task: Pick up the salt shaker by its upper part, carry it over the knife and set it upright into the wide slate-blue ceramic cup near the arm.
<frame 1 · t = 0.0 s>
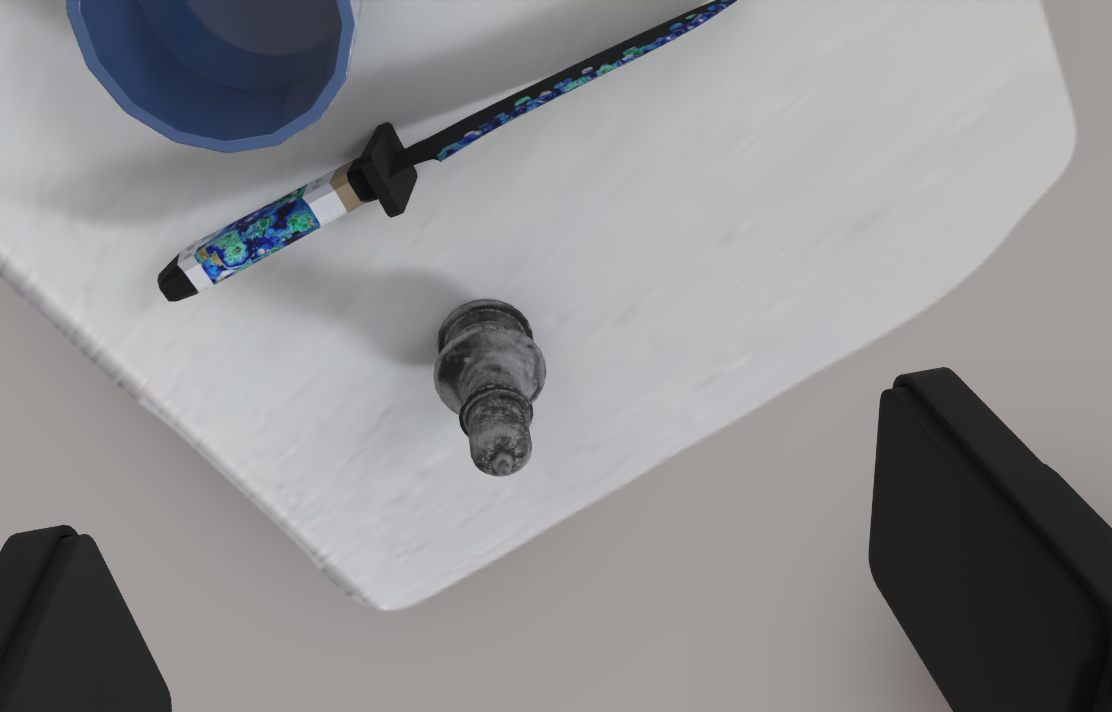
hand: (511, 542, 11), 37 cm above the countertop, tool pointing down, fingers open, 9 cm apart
salt shaker: (485, 340, 52), on the countertop
knife: (455, 124, 46), on the countertop
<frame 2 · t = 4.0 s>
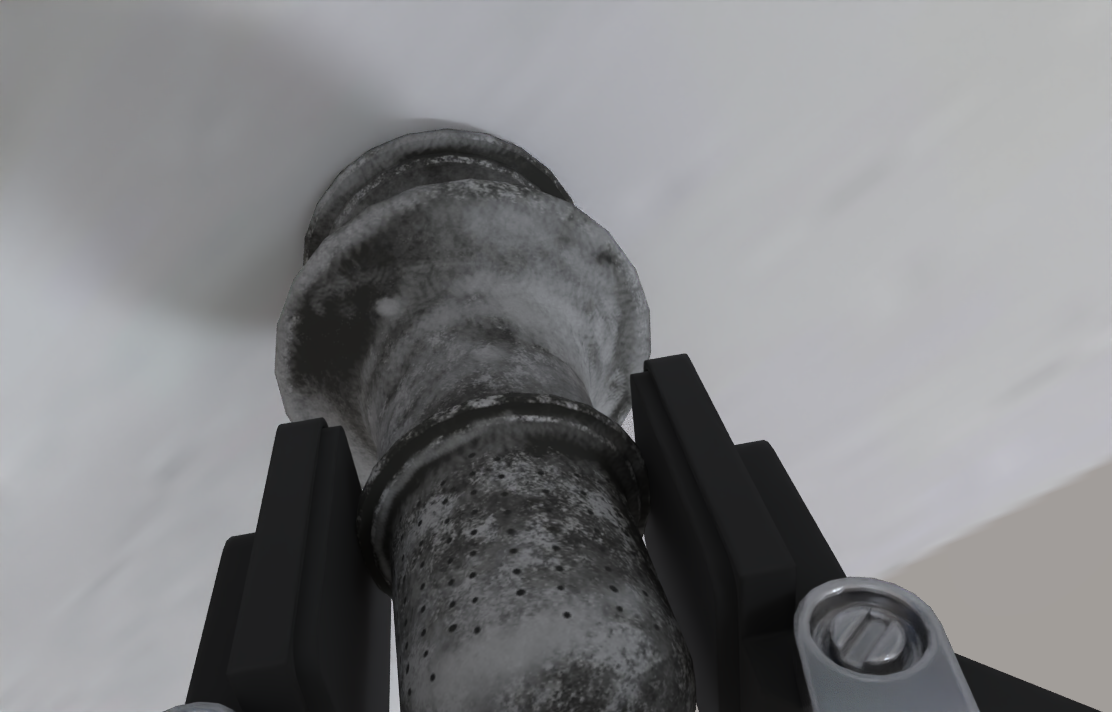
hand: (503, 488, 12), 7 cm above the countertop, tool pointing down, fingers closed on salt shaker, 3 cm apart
salt shaker: (446, 263, 18), on the countertop, touching gripper
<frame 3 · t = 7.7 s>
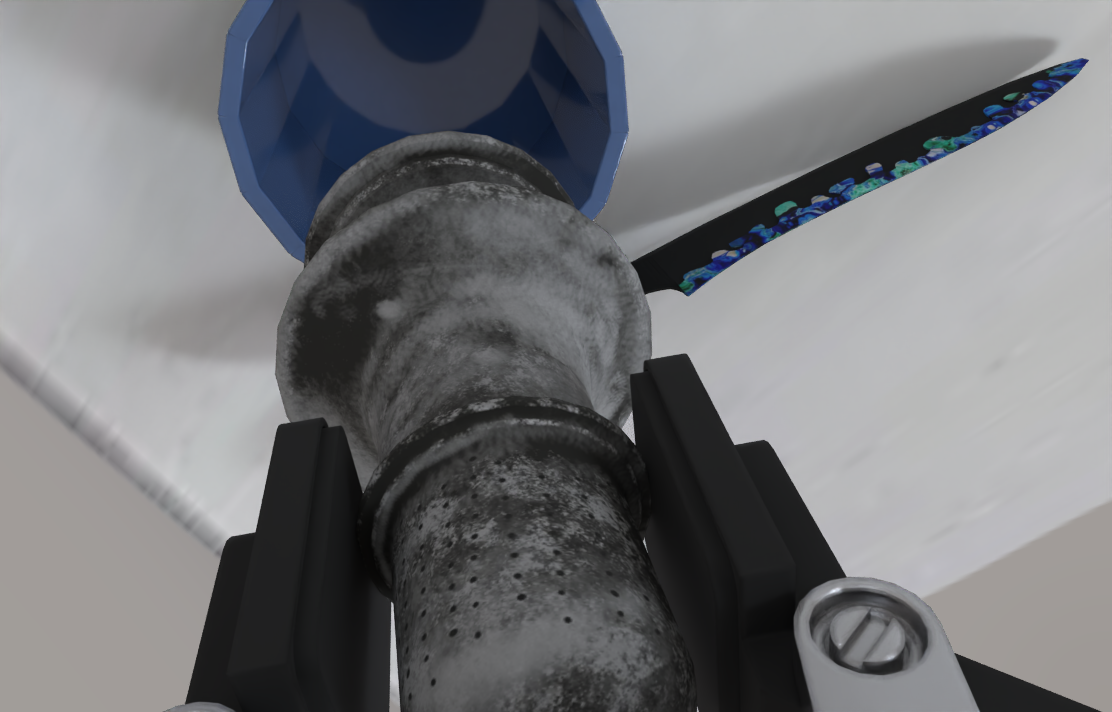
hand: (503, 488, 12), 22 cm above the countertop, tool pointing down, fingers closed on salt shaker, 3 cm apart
blue cup: (424, 55, 30), on the countertop
salt shaker: (447, 264, 18), point 15 cm above the countertop, touching gripper
knife: (678, 232, 35), on the countertop
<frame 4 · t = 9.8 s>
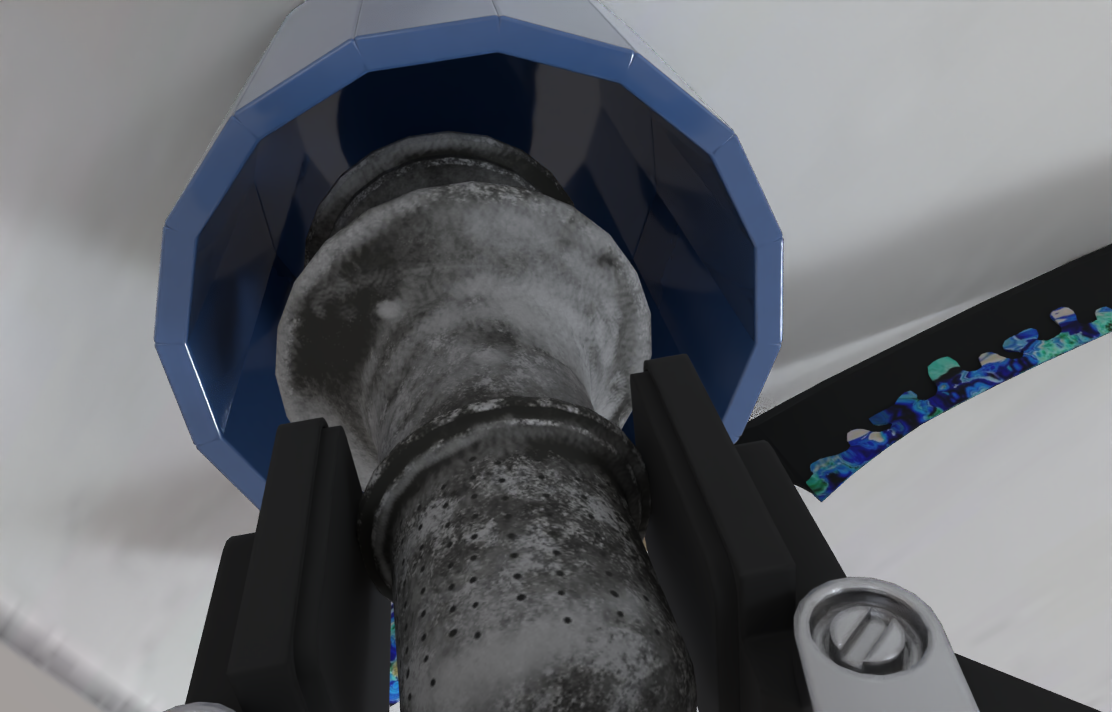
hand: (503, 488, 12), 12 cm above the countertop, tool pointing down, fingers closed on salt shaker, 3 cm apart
blue cup: (460, 176, 22), on the countertop
salt shaker: (447, 264, 18), point 5 cm above the countertop, touching gripper
knife: (787, 383, 27), on the countertop
when the fingers open (8 cm above the countertop, at t = 11.9 s): salt shaker stays where it is, resting on blue cup.
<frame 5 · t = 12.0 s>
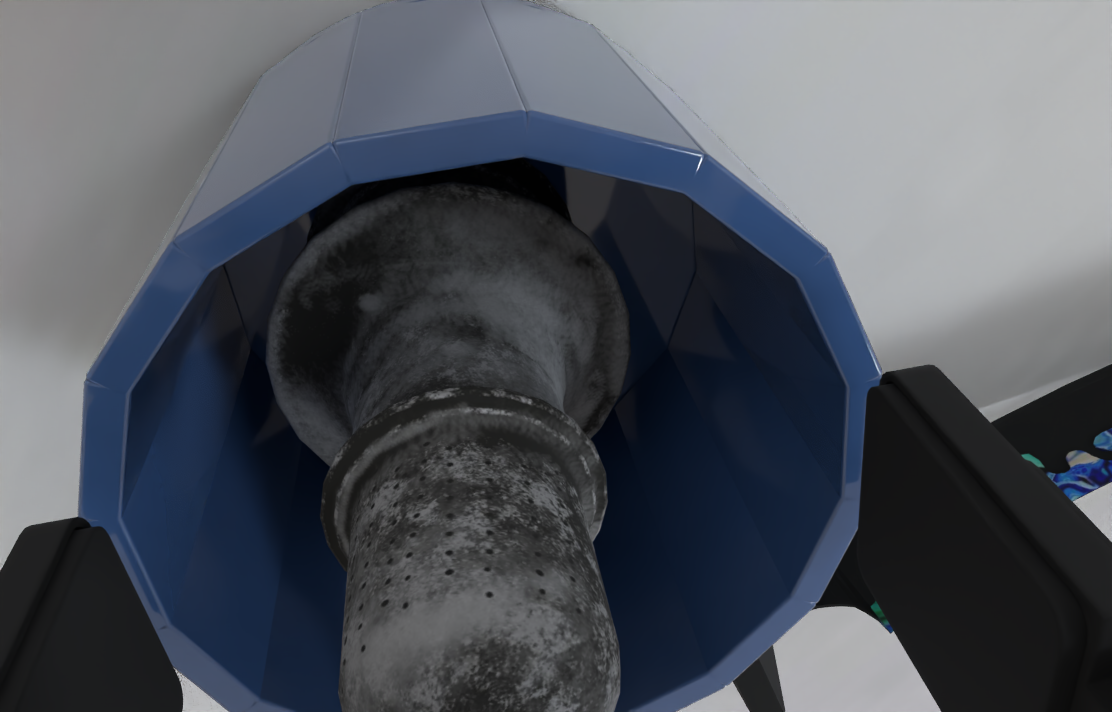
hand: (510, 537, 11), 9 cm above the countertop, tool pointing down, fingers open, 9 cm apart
blue cup: (467, 255, 19), on the countertop
salt shaker: (445, 263, 18), resting on blue cup
knife: (839, 476, 23), on the countertop
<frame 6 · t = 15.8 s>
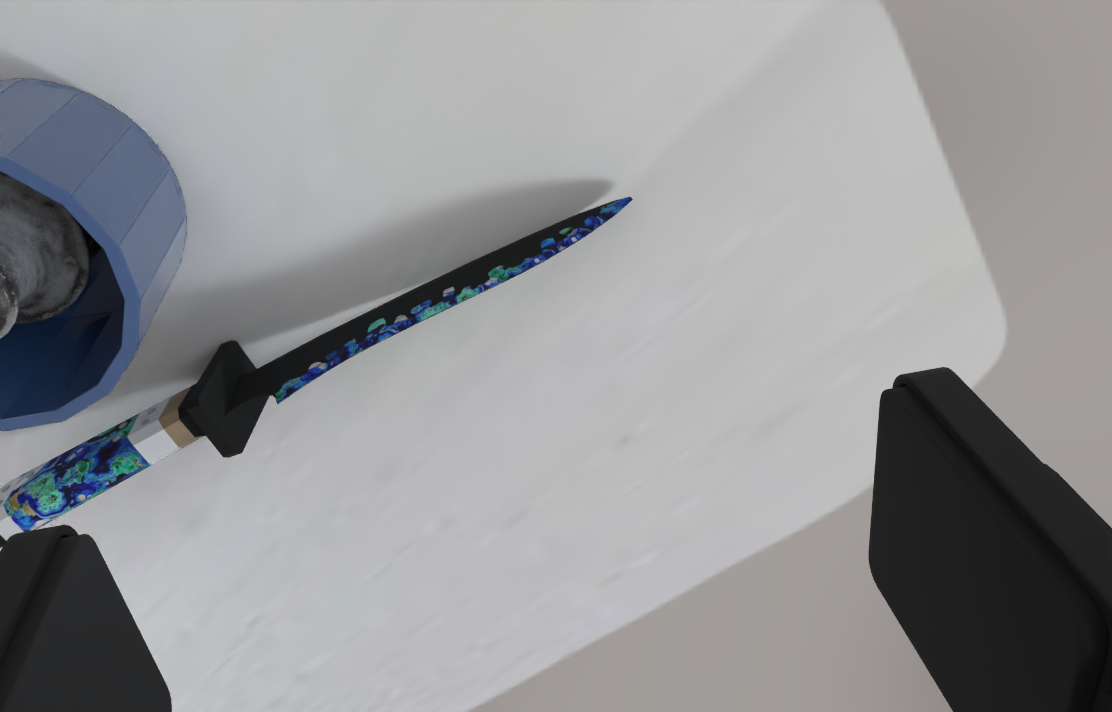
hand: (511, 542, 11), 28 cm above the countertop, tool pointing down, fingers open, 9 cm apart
blue cup: (52, 207, 36), on the countertop
salt shaker: (36, 211, 36), resting on blue cup
knife: (310, 338, 41), on the countertop
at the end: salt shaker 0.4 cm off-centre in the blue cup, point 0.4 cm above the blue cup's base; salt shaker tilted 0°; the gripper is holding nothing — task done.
